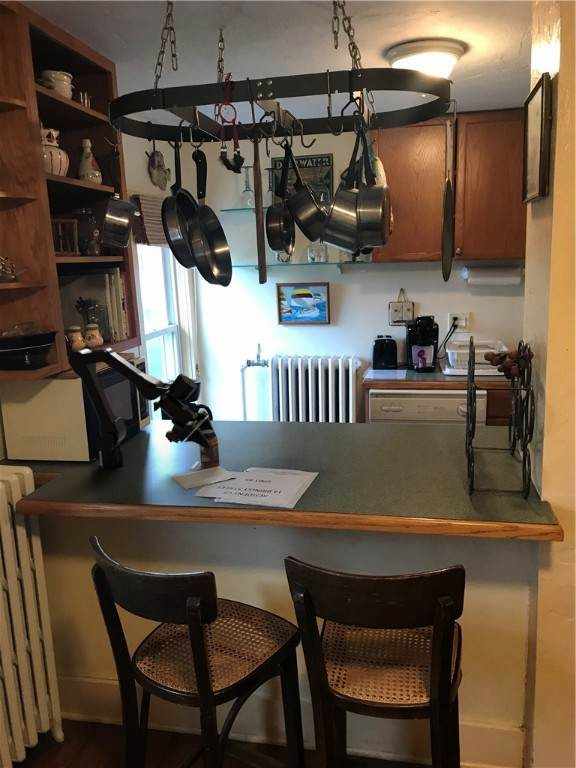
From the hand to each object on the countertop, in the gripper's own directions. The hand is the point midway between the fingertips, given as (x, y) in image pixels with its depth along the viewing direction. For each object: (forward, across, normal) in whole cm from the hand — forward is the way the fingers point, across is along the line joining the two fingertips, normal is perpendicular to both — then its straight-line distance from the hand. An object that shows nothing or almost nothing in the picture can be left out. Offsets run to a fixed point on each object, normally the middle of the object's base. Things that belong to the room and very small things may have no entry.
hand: (212, 443), depth 197 cm
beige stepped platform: (+5, +12, -6) cm, 14 cm away
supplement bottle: (+4, 0, -6) cm, 8 cm away
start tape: (+1, 0, -10) cm, 10 cm away
